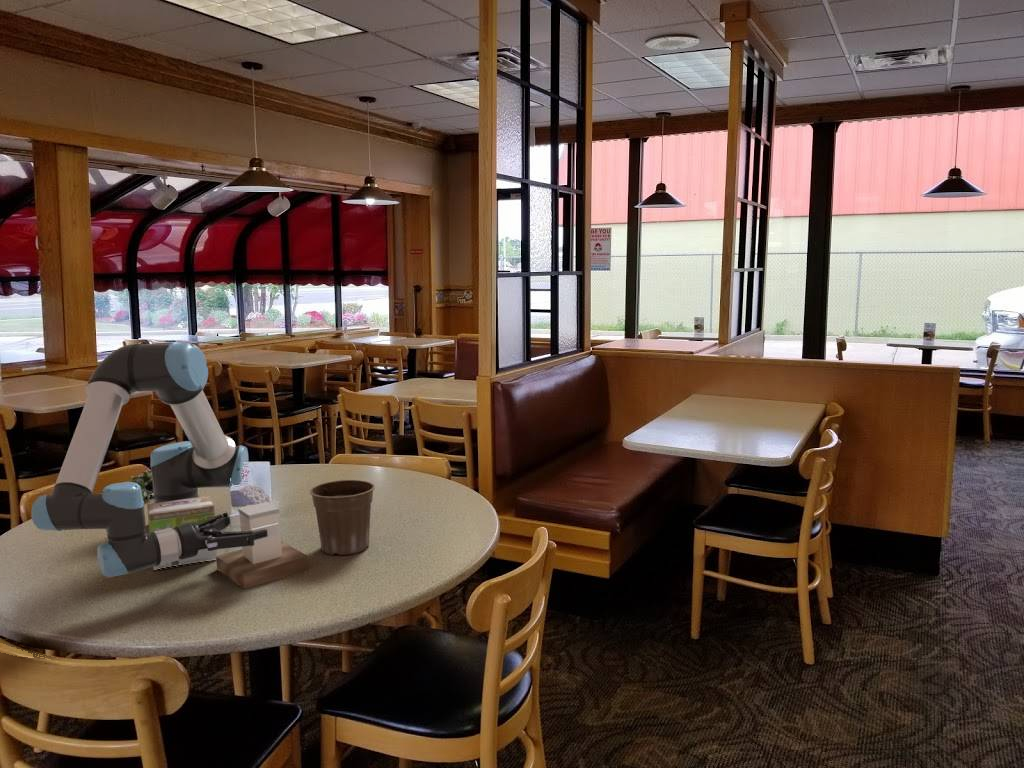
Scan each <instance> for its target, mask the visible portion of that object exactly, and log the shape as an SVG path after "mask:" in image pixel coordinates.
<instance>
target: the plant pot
mask: <svg viewBox="0 0 1024 768" xmlns="http://www.w3.org/2000/svg"><path fill="white" fill-rule="evenodd" d="M375 488H376V486H375V484H374V483H373V482H371V481H367V480H361V479H342V480H332V481H326V482H323V483H320V484H317V485H315V486H313V487H311V489H310V490H309V494H310V495H311V496H312V497H311V498H312V502H313V507H314V509H315V512H316V513H315V514H316V519H317V527H318V532H319V540H320V548H321V551H322V552H323V553H325V554H327V555H332V556H333V555H335V554H337V555H339V556H347V555H348V556H349V555H355V554H358V553H361V552H364V551H366V549H367V548H368V547H369V546H370V530H371V529H370V527H371V508H372V506H371V505H372V503H373V495H374V493H373V492H374V490H375Z"/></svg>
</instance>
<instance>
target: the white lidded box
mask: <svg viewBox="0 0 1024 768" xmlns="http://www.w3.org/2000/svg"><path fill="white" fill-rule="evenodd" d="M238 514H239V516H240V525H239V526H240V527H239V528H240V531H251V529H254V528H258V527H262V526H266V525H271V524H275V523H279V528H280V529H281V526H280V508H278V507H276V506H275V505H273V504H272V503H270V502H268V501H266V502H262V503H256V504H252V505H248V506H242V507H239V508H238ZM247 539H248V538H247ZM281 539H282V537H281V534H280V535H276V536H272V537H268V538H264V539H260V540H256V541H254V545H253V546H243V547H241V549H243V556H244V557H245V558H246V559H248V560H249V561H250V562H251V563H253V564H256V563H260V562H263V561H267V560H271V559H275V558H278V557H282V549H281V541H282V540H281Z"/></svg>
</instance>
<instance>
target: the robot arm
mask: <svg viewBox="0 0 1024 768" xmlns="http://www.w3.org/2000/svg"><path fill="white" fill-rule="evenodd" d="M207 364H208V362H207V359H206V357H205V354H204V352H203V351H202V349H200V348H199V347H198V346H197V345H195V344H193V343H189V342H188V343H185V342H175V341H174V342H171V343H170V342H169V343H168V342H165V343H163V342H162V343H131V344H127V345H123V346H121V347H118V348H117V349H115V350H114V351H111V353H109V354H108V355H107V356H106V357H105V358H104V359H102V361H101V362H100V363H99V364H98V366H97V367H96V368H95V369H94V370H93V372H92V374H91V375H90V377H89V380H88V382H87V384H86V388H85V393H86V395H87V398H86V401H85V403H84V407H83V408H82V412H81V414H80V417H79V419H78V421H77V422H78V423H77V425H76V428H75V430H74V432H73V436H72V438H71V441H70V444H69V446H68V450H67V452H66V455H65V457H64V460H63V462H62V466H61V468H60V471H59V473H58V476H57V478H56V481H55V484H54V486H53V489H52V492H51V493H50V494H49V493H48V494H45V495H40V496H38V497H37V499H35V500H34V502H33V503H32V507H31V511H30V512H31V514H30V516H31V520H32V523H33V525H34V526H35V527H36V528H37V529H38V530H42V531H43V530H44V531H56V532H57V531H58V532H61V531H70V530H71V531H73V530H74V531H76V530H106V535H107V536H106V537H107V539H106V540H107V541H105V542H103V543H99V545H98V546H97V549H96V551H97V553H96V557H97V563H98V566H99V570H100V572H101V574H102V576H104V577H105V578H112V577H117V576H123V575H129V574H132V573H135V572H138V571H144V570H146V569H150V568H153V567H154V566H158V565H162V566H166V564H167V563H170V562H174V561H177V560H178V558H179V559H181V560H182V559H186V558H190V557H194V556H196V555H197V554H198V550H199V548H200V547H208V551H212V550H217V551H218V550H222V549H230V548H231V549H232V548H242V547H243V546H253V545H254V541H256V540H260V539H264V538H268V537H272V536H276V535H280V536H281V527H280V528H279V524H280V522H279V523H275V524H271V525H266V526H262V527H258V528H254V529H251V531H241V530H240V531H225V530H224V529H227V527H230V528H233V527H237V526H240V516H239V513H236V514H231V515H229V514H228V512H223V513H222V514H218V515H215V517H213V518H210V519H208V520H205V521H203V522H201V523H198V524H195V525H191V524H185V525H181V526H177V527H175V528H174V529H172V528H167V529H163V530H159V531H154V532H150V533H149V532H147V528H146V527H147V526H146V516H145V514H146V513H145V501H144V498H143V497H142V491H141V487H140V485H139V484H137V483H135V482H129V481H123V482H116V483H111V484H108V485H106V486H105V487H104V488H103V489H102V493H93V491H94V488H95V486H96V483H97V481H98V477H99V475H100V474H99V473H100V472H101V468H102V467H103V466H102V465H103V463H104V460H105V456H106V453H107V451H108V448H109V446H110V442H111V439H112V437H113V434H114V431H115V428H116V424H117V422H118V420H119V416H120V414H121V410H122V407H123V406H124V405H126V404H127V403H128V402H129V401H130V398H131V395H132V394H134V393H137V392H155V394H156V395H157V397H158V399H159V400H160V401H161V402H162V403H164V404H166V405H169V406H170V407H171V409H172V411H173V413H174V416H175V417H176V419H177V421H178V423H179V424H180V426H181V428H182V430H183V431H184V434H185V435H186V437H187V439H188V440H185V441H179V442H174V443H168V444H166V445H162V446H160V447H157V448H155V449H154V450H153V451H151V453H150V471H151V473H152V482H153V491H154V494H153V499H154V501H153V503H160V502H167V501H175V500H182V499H190V498H197V497H200V495H199V490H198V489H201V488H204V489H205V488H206V489H207V488H232V487H231V486H232V484H233V485H239V484H240V483H241V481H242V469H243V468H242V466H243V465H244V463H243V462H248V463H249V452H248V451H249V450H248V447H246V446H244V445H236V443H235V441H234V440H233V438H231V437H230V436H228V435H226V434H225V433H224V431H223V429H222V428H221V427H222V426H220V423H219V422H218V420H217V417H216V415H215V413H214V410H213V409H212V407H211V404H210V403H209V401H208V398H207V396H206V393H205V392H204V388H205V386H206V385H207V382H208V377H209V367H208V366H207ZM230 478H231V481H230ZM247 538H248V539H247Z"/></svg>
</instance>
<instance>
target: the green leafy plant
mask: <svg viewBox="0 0 1024 768" xmlns="http://www.w3.org/2000/svg"><path fill="white" fill-rule="evenodd" d="M130 478H131V480H129V481H128V482H135V483H137V484H139V485H140V487H141V491H142V497H143V500H145V494H146V497H147V500H148V499H149V500H150V497H151V496H150V495H151V494H152V493H154V491H153V482H152V473H151V469H147V470H145V471H144V470H142V471H141V474H137V475H135V476H132V475H131V477H130Z"/></svg>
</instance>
